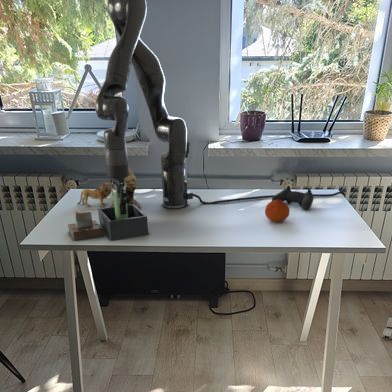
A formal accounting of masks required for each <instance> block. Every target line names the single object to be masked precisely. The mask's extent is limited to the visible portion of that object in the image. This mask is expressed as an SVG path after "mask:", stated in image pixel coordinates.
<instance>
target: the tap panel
mask: <svg viewBox="0 0 392 392" xmlns="http://www.w3.org/2000/svg"><path fill="white" fill-rule="evenodd" d="M92 222H93V226H89V227H82V228H77V227H76V222H75V223H68V224H67V228H68V233H69V234H70V236H71V237H72V239H73V241H82V240H87V239H93V238H100V237H103V230H102V228H101V227H100V223H99V222H97V220H94V219H93V220H92Z"/></svg>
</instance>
